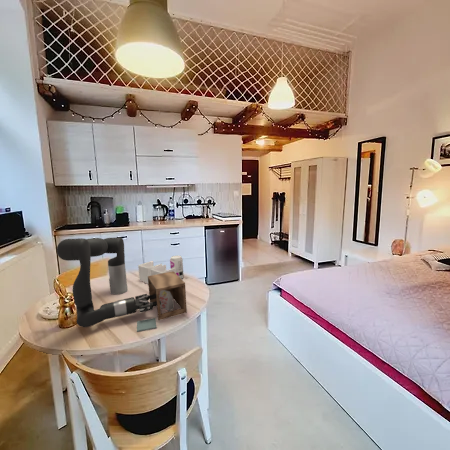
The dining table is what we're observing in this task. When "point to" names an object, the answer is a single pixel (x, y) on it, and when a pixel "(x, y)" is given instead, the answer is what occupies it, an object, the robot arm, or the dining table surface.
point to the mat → (146, 324)
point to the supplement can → (177, 265)
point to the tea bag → (166, 300)
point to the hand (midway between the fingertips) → (158, 299)
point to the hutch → (168, 283)
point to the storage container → (151, 270)
